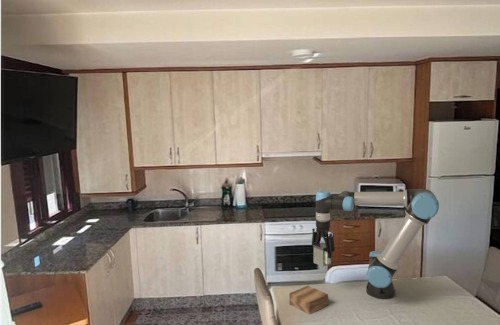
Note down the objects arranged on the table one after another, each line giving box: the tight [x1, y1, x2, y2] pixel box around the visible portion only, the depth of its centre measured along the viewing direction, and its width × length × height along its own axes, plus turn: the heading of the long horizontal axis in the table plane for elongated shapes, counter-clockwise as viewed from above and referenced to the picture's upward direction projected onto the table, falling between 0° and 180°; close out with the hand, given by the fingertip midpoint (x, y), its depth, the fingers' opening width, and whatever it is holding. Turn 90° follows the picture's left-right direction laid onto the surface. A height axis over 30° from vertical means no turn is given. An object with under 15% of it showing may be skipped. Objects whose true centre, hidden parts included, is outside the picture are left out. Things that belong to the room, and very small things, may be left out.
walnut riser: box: [289, 285, 329, 315], centre depth 194 cm, size 14×14×6 cm
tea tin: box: [312, 242, 333, 267], centre depth 202 cm, size 7×7×10 cm
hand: (322, 261), depth 202 cm, fingers closed on tea tin, 7 cm apart
